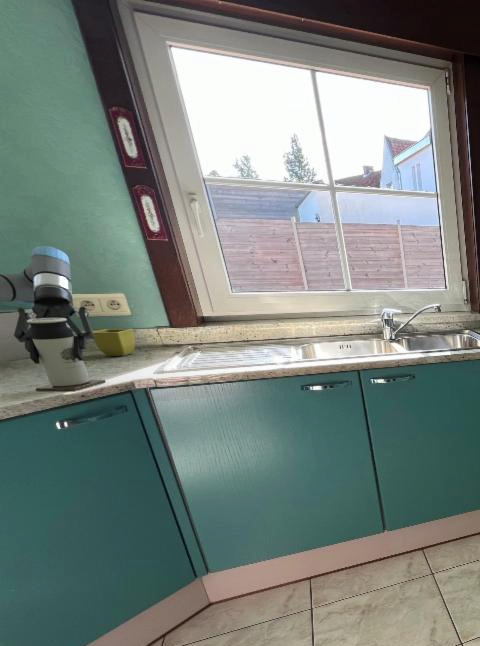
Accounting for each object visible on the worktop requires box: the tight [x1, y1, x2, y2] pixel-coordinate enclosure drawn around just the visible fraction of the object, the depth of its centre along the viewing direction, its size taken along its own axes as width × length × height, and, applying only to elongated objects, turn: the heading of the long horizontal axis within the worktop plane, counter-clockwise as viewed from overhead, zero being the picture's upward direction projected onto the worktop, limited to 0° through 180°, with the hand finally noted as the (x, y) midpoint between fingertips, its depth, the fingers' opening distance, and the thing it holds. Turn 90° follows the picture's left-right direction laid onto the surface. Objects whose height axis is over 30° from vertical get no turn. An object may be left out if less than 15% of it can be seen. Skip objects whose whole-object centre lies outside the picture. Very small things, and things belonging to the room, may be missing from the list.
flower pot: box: [92, 328, 136, 357], centre depth 179 cm, size 9×9×9 cm
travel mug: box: [27, 318, 91, 387], centre depth 137 cm, size 8×8×18 cm
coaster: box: [35, 379, 106, 392], centre depth 141 cm, size 10×10×1 cm
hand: (57, 359), depth 135 cm, fingers closed on travel mug, 8 cm apart
